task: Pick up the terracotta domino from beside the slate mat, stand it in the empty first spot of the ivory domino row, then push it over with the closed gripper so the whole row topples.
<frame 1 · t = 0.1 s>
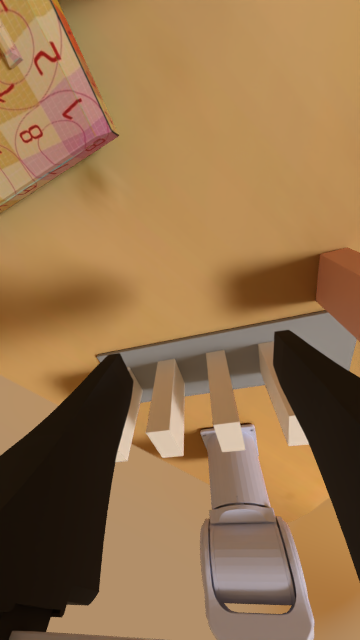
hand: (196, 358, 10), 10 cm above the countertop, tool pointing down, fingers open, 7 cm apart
domino 3: (218, 365, 24), resting on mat
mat: (222, 362, 24), on the countertop
domino 5: (128, 380, 25), resting on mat
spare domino: (330, 276, 18), on the countertop
domino 4: (171, 373, 25), resting on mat
domino 2: (268, 357, 23), resting on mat
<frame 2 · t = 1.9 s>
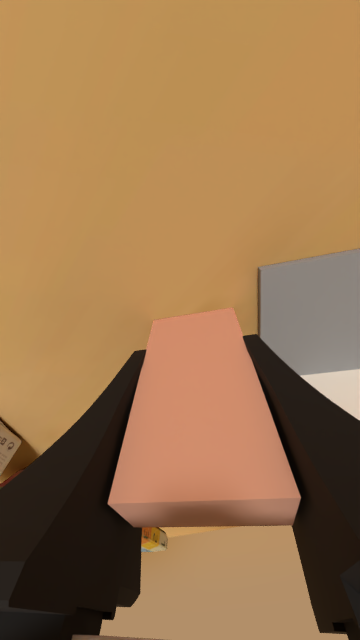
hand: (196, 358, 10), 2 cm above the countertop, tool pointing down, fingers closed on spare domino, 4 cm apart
puzzle game: (98, 489, 28), on the countertop
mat: (317, 420, 16), on the countertop
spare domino: (195, 328, 12), on the countertop, touching gripper
domino 2: (332, 382, 13), resting on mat
when the fingers open (4 cm above the countertop, at t = 5.5 s): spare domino stays where it is, resting on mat.
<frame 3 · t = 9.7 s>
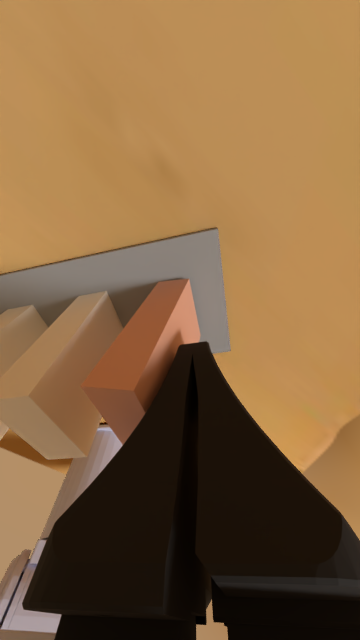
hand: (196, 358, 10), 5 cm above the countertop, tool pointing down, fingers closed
domino 3: (38, 331, 16), resting on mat
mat: (47, 327, 16), on the countertop
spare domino: (180, 310, 14), point 1 cm above the countertop, tilted 12°, touching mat
domino 2: (105, 320, 15), resting on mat
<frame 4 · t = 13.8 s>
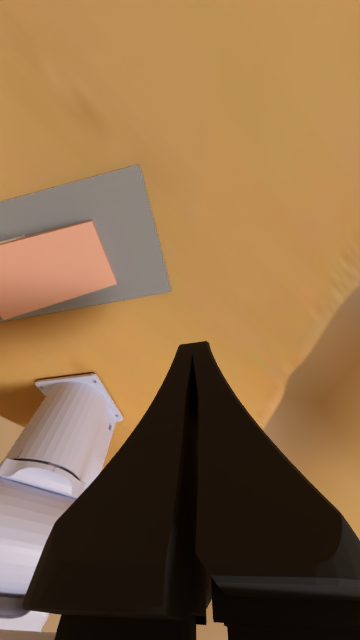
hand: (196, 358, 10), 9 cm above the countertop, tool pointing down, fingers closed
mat: (5, 269, 18), on the countertop
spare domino: (105, 252, 15), point 1 cm above the countertop, tilted 69°, touching domino 2, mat
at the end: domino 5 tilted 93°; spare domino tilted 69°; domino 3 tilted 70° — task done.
